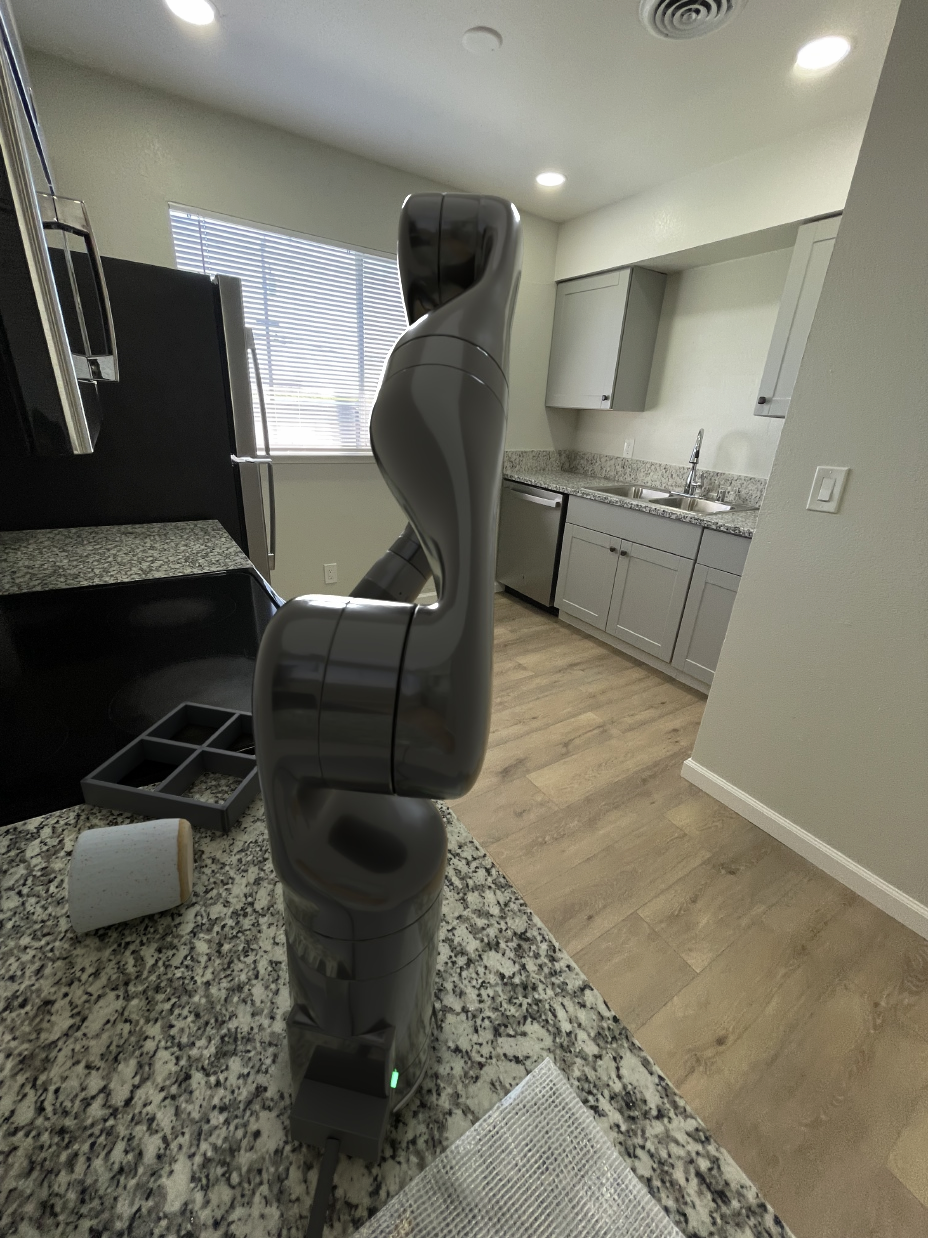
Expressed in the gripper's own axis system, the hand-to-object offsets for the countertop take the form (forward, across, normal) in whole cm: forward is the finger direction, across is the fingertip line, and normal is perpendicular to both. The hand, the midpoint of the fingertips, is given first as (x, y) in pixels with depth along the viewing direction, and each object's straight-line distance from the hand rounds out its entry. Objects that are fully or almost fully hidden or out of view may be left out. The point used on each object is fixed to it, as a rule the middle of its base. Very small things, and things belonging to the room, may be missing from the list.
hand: (311, 687), depth 67 cm
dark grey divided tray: (+14, +1, -6) cm, 15 cm away
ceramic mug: (+21, +14, -12) cm, 28 cm away
